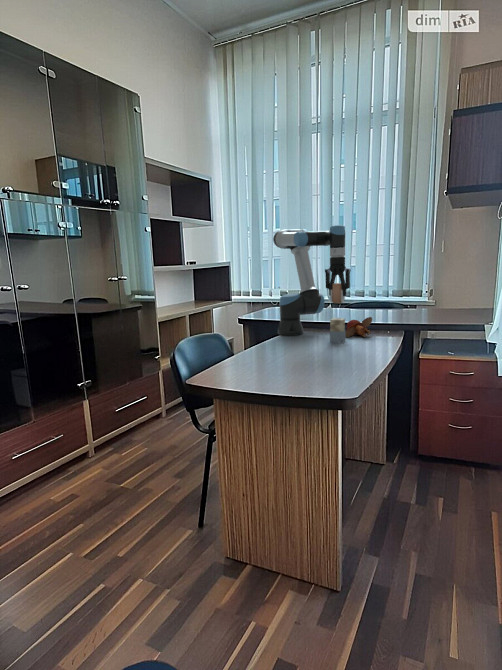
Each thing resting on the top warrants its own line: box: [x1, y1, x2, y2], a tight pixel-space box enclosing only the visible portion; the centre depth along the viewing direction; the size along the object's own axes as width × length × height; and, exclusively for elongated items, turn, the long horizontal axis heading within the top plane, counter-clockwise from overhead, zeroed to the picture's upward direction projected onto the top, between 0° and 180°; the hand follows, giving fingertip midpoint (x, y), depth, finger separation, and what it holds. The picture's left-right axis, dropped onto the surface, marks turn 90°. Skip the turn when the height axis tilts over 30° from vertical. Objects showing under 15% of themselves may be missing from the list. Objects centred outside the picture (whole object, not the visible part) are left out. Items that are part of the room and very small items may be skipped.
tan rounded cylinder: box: [331, 282, 342, 304], centre depth 208 cm, size 5×5×10 cm
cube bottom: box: [329, 329, 347, 344], centre depth 213 cm, size 6×6×6 cm
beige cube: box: [329, 317, 346, 332], centre depth 212 cm, size 6×6×6 cm
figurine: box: [345, 316, 373, 339], centre depth 226 cm, size 20×9×15 cm
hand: (337, 302), depth 209 cm, fingers closed on tan rounded cylinder, 5 cm apart
